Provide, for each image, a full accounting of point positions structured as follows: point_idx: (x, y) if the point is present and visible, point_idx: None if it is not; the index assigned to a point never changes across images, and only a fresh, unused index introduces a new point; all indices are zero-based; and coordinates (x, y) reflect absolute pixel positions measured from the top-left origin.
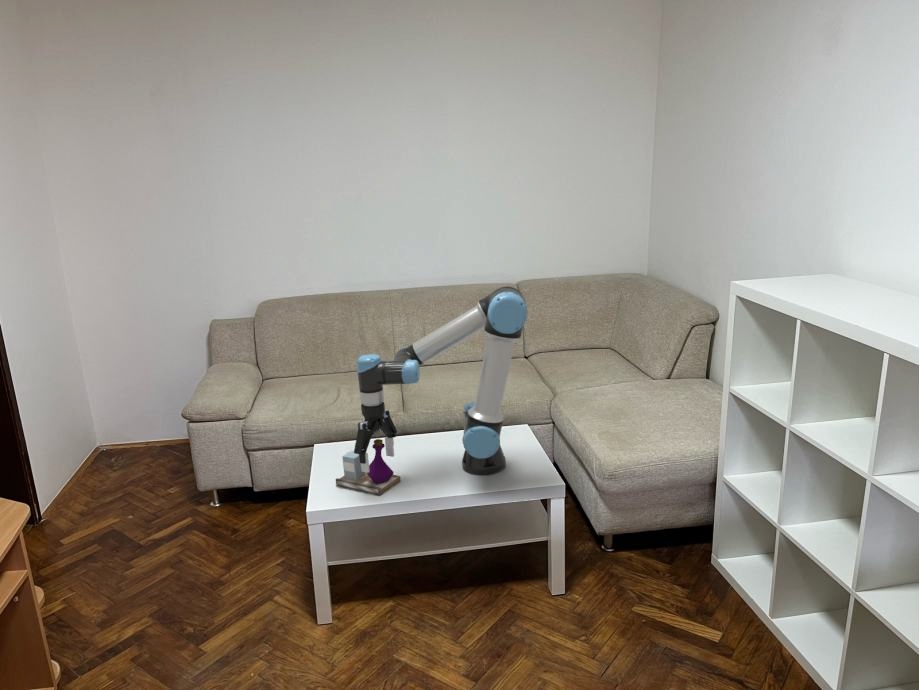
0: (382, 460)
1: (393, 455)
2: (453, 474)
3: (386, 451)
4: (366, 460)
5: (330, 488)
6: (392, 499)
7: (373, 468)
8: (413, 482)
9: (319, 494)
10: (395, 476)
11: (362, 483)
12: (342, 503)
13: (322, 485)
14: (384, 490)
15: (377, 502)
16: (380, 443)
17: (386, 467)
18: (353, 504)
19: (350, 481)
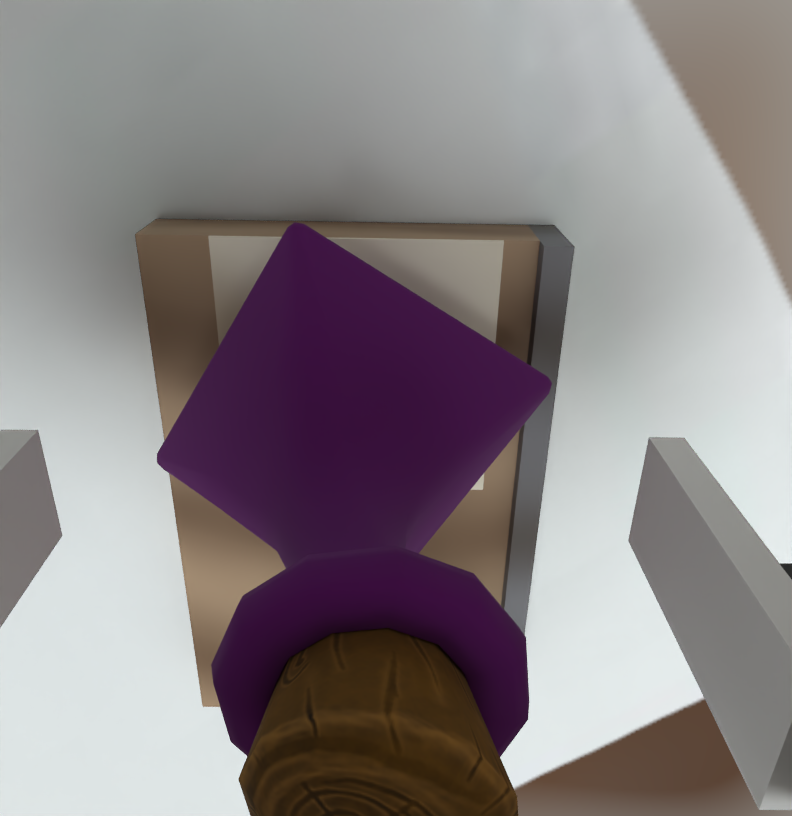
0: (327, 451)
1: (11, 438)
2: None
3: (31, 573)
4: (774, 576)
5: (551, 682)
6: (583, 28)
7: (464, 474)
8: (93, 50)
9: (668, 691)
10: (178, 278)
11: (478, 495)
12: (783, 460)
13: (524, 749)
14: (466, 229)
15: (695, 157)
16: (425, 690)
17: (336, 340)
18: (785, 361)
19: (511, 600)
